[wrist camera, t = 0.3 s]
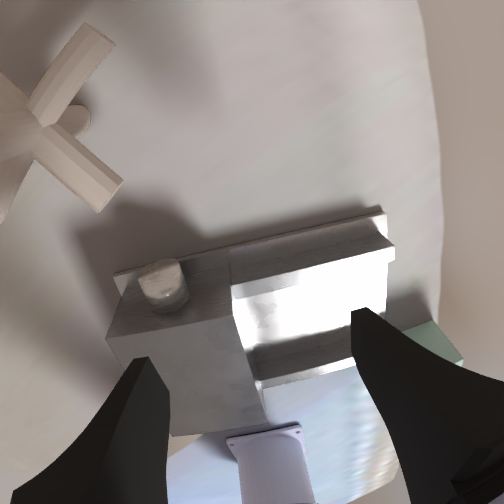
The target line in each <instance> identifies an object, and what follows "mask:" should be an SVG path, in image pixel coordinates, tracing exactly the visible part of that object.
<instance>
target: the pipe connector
mask: <svg viewBox="0 0 504 504" xmlns="http://www.w3.org/2000/svg"><path fill="white" fill-rule="evenodd" d="M115 45H116V44H115V43H113V42H112V41H111V40H110V39H109V38H107V37H106V36H105V35H103V34H102V33H101V32H99V31H98V30H96V29H95V28H93V27H92V26H90V25H88V24H87V23H84V24H83V25H82V26H81V27H80V28H79V30H78V31H77V32H76V33H75V34H74V36H73V37H72V38H71V39H70V41H69V42H68V43H67V44H66V46H65V47H64V48H63V49H62V51H61V52H60V53H59V55H58V56H57V57H56V59H55V60H54V62H53V63H52V64H51V66H50V67H49V69H48V70H47V71H46V73H45V74H44V76H43V77H42V79H41V80H40V82H39V83H38V85H37V86H36V88H35V89H34V91H33V93H32V94H31V96H30V97H28V96H27V95H26V94H25V93H23V92H22V91H21V90H20V89H19V88H18V87H17V86H16V85H15V84H14V83H12V82H11V81H10V80H9V79H8V78H7V77H6V76H5V75H4V74H3V73H2V72H0V223H2V222H3V221H4V219H5V217H6V215H7V213H8V211H9V208H10V206H11V204H12V202H13V200H14V198H15V195H16V193H17V191H18V189H19V187H20V185H21V183H22V181H23V179H24V177H25V176H26V174H27V172H28V170H29V168H30V166H31V164H32V163H33V161H34V159H36V160H37V161H38V162H39V163H40V164H41V165H42V166H43V167H45V168H46V169H47V170H48V171H49V172H50V173H51V174H52V175H53V176H55V177H56V178H57V179H58V180H59V181H60V182H61V183H63V184H64V185H65V186H66V187H67V188H68V189H69V190H71V191H72V192H73V193H74V194H75V195H76V196H78V197H79V198H80V199H81V200H82V201H83V202H85V203H86V204H87V205H88V206H89V207H90V208H92V209H93V210H94V211H95V212H96V213H100V212H101V211H102V209H103V208H104V207H105V206H106V205H107V203H108V202H109V201H110V200H111V198H112V197H113V196H114V194H115V193H116V192H117V191H118V189H119V188H120V187H121V185H122V184H123V182H124V180H123V179H122V178H121V177H120V176H118V175H117V174H116V173H115V172H114V171H113V170H111V169H110V168H109V167H108V166H107V165H106V164H104V163H103V162H102V161H101V160H100V159H99V158H97V157H96V156H95V155H94V154H93V153H92V152H90V151H89V150H88V149H87V148H86V147H85V146H83V145H82V144H81V143H80V142H79V141H78V140H77V139H75V138H74V137H73V136H77V135H80V134H82V133H84V132H85V131H86V130H87V129H88V127H89V124H90V118H91V117H90V113H89V111H88V109H87V108H86V107H84V106H82V105H71V106H68V105H69V103H70V102H71V101H72V99H73V98H74V96H75V95H76V94H77V92H78V91H79V90H80V88H81V87H82V86H83V84H84V83H85V82H86V80H87V79H88V78H89V77H90V75H91V74H92V73H93V71H94V70H95V69H96V68H97V67H98V65H99V64H100V63H101V62H102V60H103V59H104V58H105V57H106V56H107V55H108V53H109V52H110V51H111V50H112V49H113V48H114V47H115Z"/></svg>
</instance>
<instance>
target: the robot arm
mask: <svg viewBox="0 0 504 504" xmlns="http://www.w3.org/2000/svg"><path fill="white" fill-rule="evenodd" d="M350 322H351V353H352V356H353V358H354V361H355V364H356V366H357V369H358V371H359V374H360V376H361V378H362V380H363V382H364V384H365V386H366V388H367V390H368V391H369V393H370V395H371V397H372V399H373V401H374V403H375V405H376V407H377V409H378V410H379V412H380V414H381V416H382V418H383V420H384V422H385V424H386V427H387V429H388V431H389V434H390V436H391V439H392V442H393V445H394V447H395V450H396V453H397V456H398V459H399V462H400V465H401V468H402V472H403V475H404V479H405V482H406V486H407V489H408V493H409V497H410V501H411V504H504V382H503V381H500V380H496V379H493V378H490V377H486V376H483V375H480V374H478V373H475V372H473V371H470V370H468V369H465V368H463V367H461V366H458V365H456V364H454V363H452V362H450V361H448V360H446V359H444V358H442V357H440V356H438V355H437V354H435V353H433V352H431V351H430V350H428V349H426V348H425V347H423V346H421V345H420V344H418V343H417V342H415V341H414V340H412V339H411V338H409V337H408V336H406V335H405V334H404V333H402V332H401V331H399V330H398V329H396V328H395V327H394V326H392V325H391V324H390V323H388V322H387V321H386V320H384V319H383V318H382V317H380V316H379V315H378V314H376V313H375V312H374V311H372V310H371V309H370V308H368V307H367V306H365V307H362V308H359V309H355V310H352V311H350ZM169 428H170V391H169V390H168V388H167V387H166V385H165V383H164V382H163V380H162V378H161V377H160V375H159V373H158V372H157V370H156V368H155V367H154V365H153V363H152V362H151V360H150V358H149V356H147V357H141V358H134V359H133V360H132V362H131V363H130V364H129V366H128V367H127V369H126V370H125V372H124V374H123V375H122V377H121V378H120V380H119V381H118V383H117V384H116V386H115V387H114V389H113V390H112V392H111V393H110V395H109V396H108V398H107V399H106V401H105V402H104V404H103V405H102V407H101V408H100V409H99V411H98V412H97V414H96V415H95V416H94V418H93V419H92V420H91V422H90V423H89V424H88V426H87V427H86V428H85V429H84V431H83V432H82V433H81V434H80V435H79V436H78V438H77V439H76V440H75V441H74V442H73V443H72V444H71V445H70V446H69V447H68V448H67V449H66V450H65V451H64V452H63V453H62V454H61V455H60V456H59V457H58V458H57V459H56V460H55V461H54V462H53V463H52V464H50V465H49V466H48V467H47V468H46V469H44V470H43V471H42V472H41V473H39V474H38V475H37V476H35V477H34V478H33V479H31V480H29V481H28V482H26V483H25V484H23V485H22V486H21V487H19V488H17V489H15V490H14V491H13V494H12V498H11V502H10V504H168V498H167V484H166V463H167V450H168V439H169ZM226 444H227V445H228V447H229V449H230V450H231V452H232V453H233V455H234V457H235V458H236V460H237V461H238V468H239V478H240V488H241V497H242V504H316V502H315V498H314V494H313V490H312V486H311V482H310V478H309V474H308V470H307V465H306V461H307V460H308V459H307V453H306V447H305V442H304V436H303V431H302V426H301V425H295V426H291V427H286V428H282V429H277V430H272V431H267V432H262V433H257V434H251V435H246V436H240V437H234V438H228V439H227V440H226ZM317 504H318V503H317Z"/></svg>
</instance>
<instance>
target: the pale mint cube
mask: <svg viewBox="0 0 504 504" xmlns="http://www.w3.org/2000/svg"><path fill="white" fill-rule="evenodd" d="M401 332H402V333H404V334H405V335H406V336H408V337H409V338H411V339H412V340H414V341H415V342H417V343H418V344H420V345H421V346H423V347H425V348H426V349H428V350H430V351H431V352H433V353H435V354H437V355H438V356H440V357H442V358H444V359H446V360H448V361H450V362H452V363H454V364H456V365H458V366H462V363H463V360H464V358H463V357H462V356H461V354H460V353H459V352H458V351H457V349H456V348H455V347H454V346H453V344H452V343H451V342H450V340H449V339H448V338H447V336H446V335H445V334H444V333H443V331H441V329H440V328H439V327H438V325H437V324H436V323H435V322H434V320H431V321H428V322H426V323H423V324H420V325H418V326H415V327H412V328H409V329H407V330H404V331H401Z"/></svg>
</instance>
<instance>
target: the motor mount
mask: <svg viewBox="0 0 504 504" xmlns="http://www.w3.org/2000/svg"><path fill="white" fill-rule="evenodd" d="M394 260H395V246H394V245H393V244H392V243H391V242H390V241H389V240H388V239H387V214H386V213H385V212H384V211H382V212H377V213H373V214H368V215H364V216H359V217H355V218H350V219H346V220H341V221H337V222H332V223H328V224H323V225H319V226H315V227H310V228H306V229H301V230H297V231H292V232H288V233H284V234H279V235H275V236H271V237H266V238H262V239H258V240H253V241H249V242H245V243H240V244H236V245H232V246H227V247H223V248H219V249H215V250H210V251H206V252H202V253H197V254H193V255H189V256H185V257H181V258H176V259H172V258H167V259H161V260H157V261H155V262H152V263H150V264H148V265H147V266H143V267H139V268H135V269H130V270H126V271H122V272H118V273H115V274H114V276H113V279H114V281H115V284H116V286H117V288H118V290H119V292H120V294H121V296H122V297H121V300H120V302H119V304H118V307H117V309H116V312H115V315H114V317H113V320H112V322H111V325H110V327H109V330H108V333H107V335H106V338H105V340H106V341H107V343H108V345H109V346H110V348H111V350H112V351H113V353H114V354H115V356H116V358H117V359H118V361H119V362H120V364H121V366H122V367H123V369H124V370H126V369H127V367H128V366H129V364H130V363H131V362H132V360H133V359H134V358H141V357H147V356H149V358H150V360H151V362H152V363H153V365H154V367H155V368H156V370H157V372H158V373H159V375H160V377H161V378H162V380H163V382H164V383H165V385H166V387H167V388H168V390H169V391H170V428H169V433H170V434H171V435H172V437H174V436H184V435H194V434H203V433H211V432H218V431H225V430H231V429H237V428H243V427H249V426H254V425H260V424H265V423H268V419H267V413H266V408H265V402H264V396H263V390H262V389H265V388H269V387H274V386H278V385H283V384H287V383H291V382H295V381H299V380H303V379H307V378H311V377H315V376H319V375H322V374H326V373H330V372H333V371H337V370H340V369H343V368H347V367H350V366H353V365H356V364H355V361H354V358H353V356H352V353H351V322H350V311H352V310H355V309H359V308H362V307H365V306H367V307H368V308H370V309H371V310H372V311H374V312H375V313H376V314H378V315H379V316H380V317H382V318H383V319H384V320H385V308H386V287H387V262H390V261H394Z"/></svg>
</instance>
